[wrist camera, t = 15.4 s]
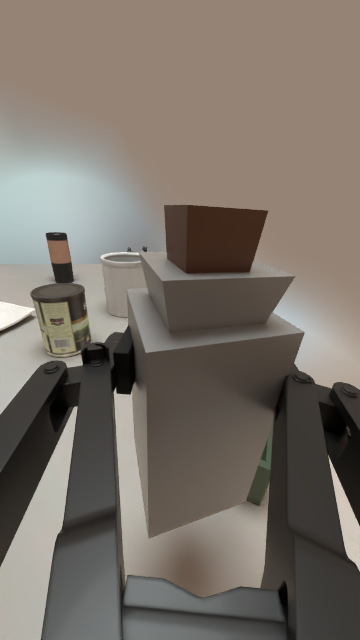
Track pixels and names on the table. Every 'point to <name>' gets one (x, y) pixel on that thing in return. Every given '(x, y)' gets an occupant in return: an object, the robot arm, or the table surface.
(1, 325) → the plate
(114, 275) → the utensil holder
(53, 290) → the coffee can
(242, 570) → the table surface
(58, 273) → the travel mug
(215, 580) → the table surface
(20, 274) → the table surface
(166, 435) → the perfume bottle
